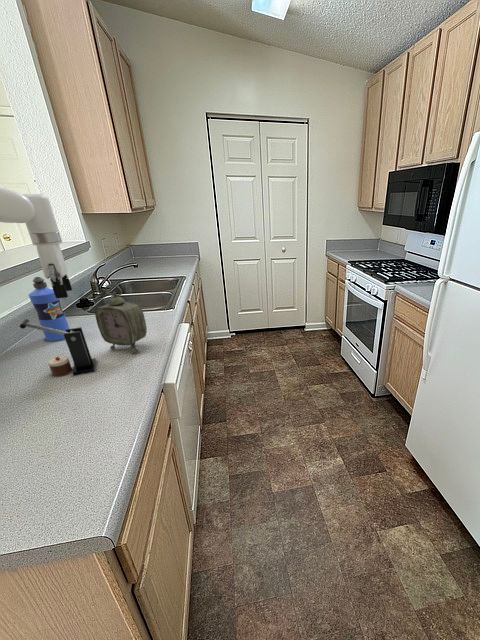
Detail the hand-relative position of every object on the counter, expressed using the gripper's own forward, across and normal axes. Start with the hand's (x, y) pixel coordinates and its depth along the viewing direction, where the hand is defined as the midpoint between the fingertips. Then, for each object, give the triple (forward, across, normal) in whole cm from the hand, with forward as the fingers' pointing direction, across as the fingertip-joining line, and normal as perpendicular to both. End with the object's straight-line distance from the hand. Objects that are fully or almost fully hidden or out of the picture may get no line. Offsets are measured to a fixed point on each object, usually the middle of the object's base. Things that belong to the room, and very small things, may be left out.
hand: (64, 294), depth 109 cm
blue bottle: (+24, -31, -13) cm, 42 cm away
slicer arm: (+10, +7, -6) cm, 14 cm away
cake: (+24, +7, -6) cm, 26 cm away
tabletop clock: (+24, -4, +14) cm, 29 cm away
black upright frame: (+24, +7, 0) cm, 25 cm away
